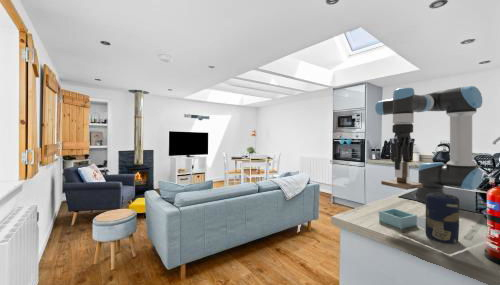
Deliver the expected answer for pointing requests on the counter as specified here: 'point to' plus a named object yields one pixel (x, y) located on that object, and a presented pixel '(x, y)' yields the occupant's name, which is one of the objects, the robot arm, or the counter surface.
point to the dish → (398, 218)
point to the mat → (421, 222)
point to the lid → (402, 180)
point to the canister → (442, 217)
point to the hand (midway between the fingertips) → (401, 176)
